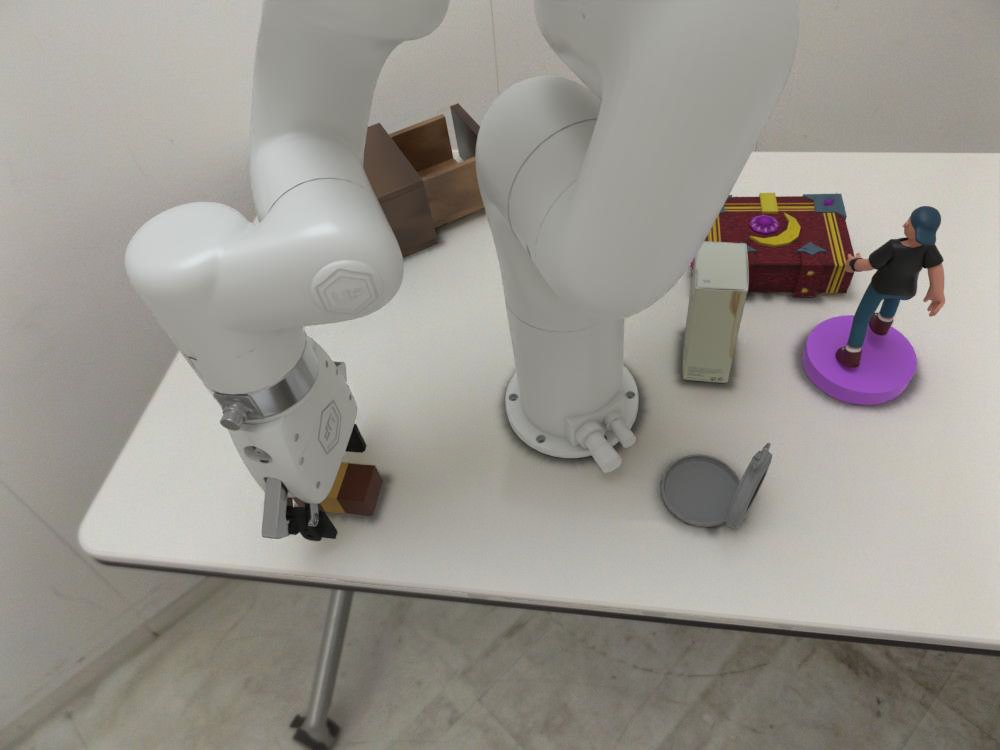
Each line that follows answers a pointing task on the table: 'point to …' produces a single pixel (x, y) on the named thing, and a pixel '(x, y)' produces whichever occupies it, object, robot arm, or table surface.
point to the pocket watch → (713, 489)
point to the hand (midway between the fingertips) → (336, 489)
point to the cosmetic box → (715, 310)
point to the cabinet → (398, 191)
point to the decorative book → (789, 241)
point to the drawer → (444, 163)
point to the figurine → (878, 319)
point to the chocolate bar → (352, 490)
